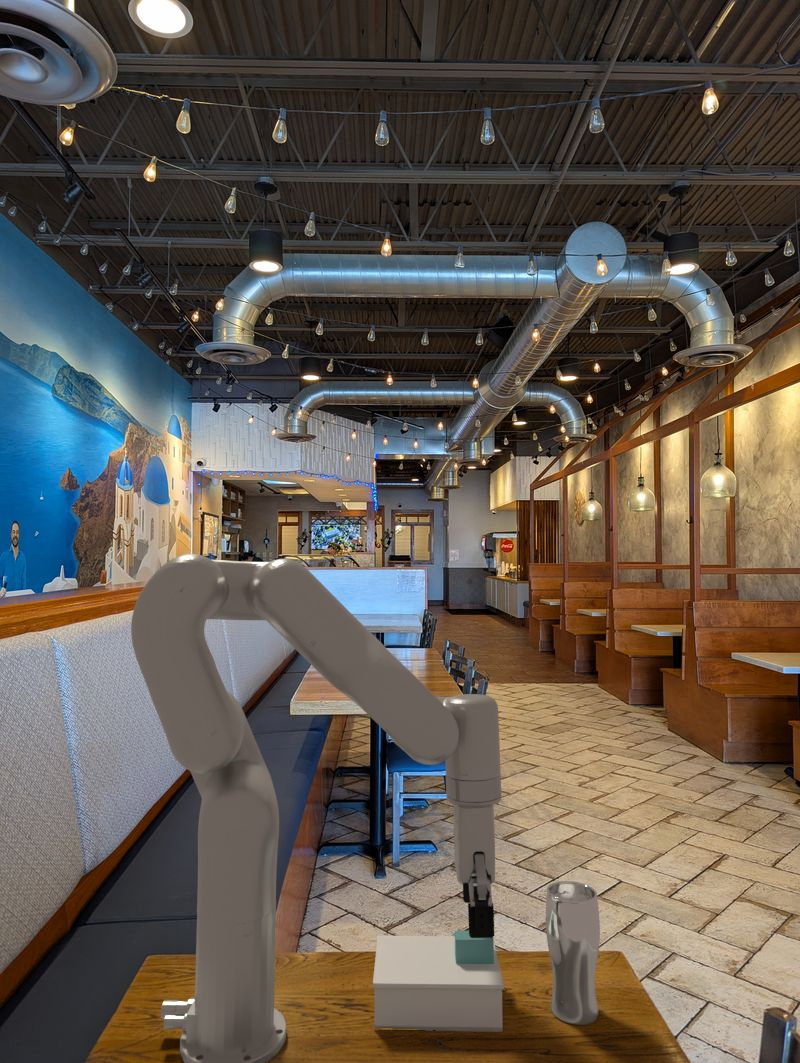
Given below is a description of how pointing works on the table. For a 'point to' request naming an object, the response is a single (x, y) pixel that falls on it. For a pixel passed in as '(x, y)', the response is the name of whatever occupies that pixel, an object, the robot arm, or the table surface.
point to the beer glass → (573, 950)
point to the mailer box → (439, 1009)
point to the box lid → (437, 962)
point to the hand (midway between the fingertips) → (478, 918)
